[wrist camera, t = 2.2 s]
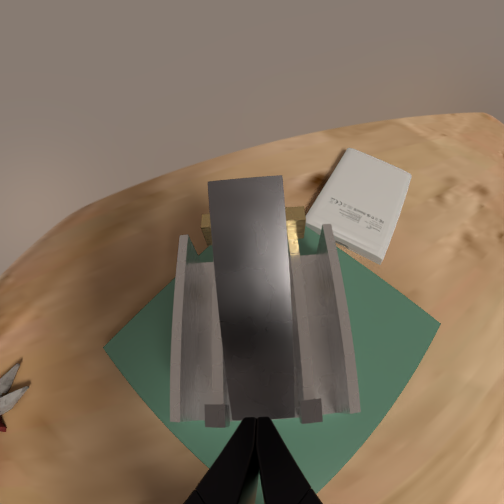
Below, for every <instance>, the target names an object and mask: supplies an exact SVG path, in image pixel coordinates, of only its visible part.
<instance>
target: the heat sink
mask: <svg viewBox="0 0 504 504" xmlns="http://www.w3.org/2000/svg"><path fill="white" fill-rule="evenodd" d="M285 214H286V227H287V241H288V256H289V271H290V289H291V308H292V330H293V357H294V396H295V417H294V418H299V421H300V423H301V424H308V423H317V422H323V416H322V415H325V414H332V413H343V414H353V413H358V412H361V409H360V398H359V388H358V378H357V369H356V361H355V353H354V346H353V338H352V332H351V325H350V319H349V312H348V306H347V300H346V295H345V289H344V284H343V278H342V273H341V268H340V263H339V258H338V253H337V248H336V244H335V239H334V235H333V230H332V226H331V224H322V229H321V234H320V238H319V243H318V248H317V252H316V254H315V255H302V256H300V252H299V245H298V239H301V238H304V233H305V225H306V216H305V211H304V206H302V207H286V208H285ZM201 229H202V232H203V235H204V237H205V240H206V242H207V245H212V236H211V223H210V214H202V219H201ZM281 419H288V418H281ZM197 420H205V427H212V428H226V427H229V426H230V422H233V421H242V420H232V415H231V408H230V401H229V393H228V386H227V379H226V371H225V363H224V355H223V347H222V338H221V329H220V320H219V311H218V301H217V292H216V281H215V271H214V260H213V262H205V263H201V261H200V259H199V257H198V255H197V252H196V250H195V248H194V246H193V244H192V242H191V239H190V237H189V235H180V238H179V247H178V257H177V267H176V278H175V290H174V304H173V319H172V337H171V363H170V422H189V421H197ZM271 420H274V419H271Z"/></svg>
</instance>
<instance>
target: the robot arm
mask: <svg viewBox="0 0 504 504" xmlns="http://www.w3.org/2000/svg"><path fill="white" fill-rule="evenodd" d="M259 474H260V481H261V487H262V493H263V498H264V504H323V503H322V502H321V501H320V499H319V498H318V496H317V495H316V493H315V492H314V490H313V489H311V486H310V484H309V482H308V481H307V479H306V478H305V476H304V474H303V473H302V471H301V469H300V468H299V466H298V464H297V463H296V461H295V460H294V458H293V456H292V454H291V453H290V451H289V449H288V448H287V446H286V444H285V443H284V441H283V439H282V437H281V436H280V434H279V432H278V430H277V429H276V427H275V425H274V423H273V422H272V420H271V418H270V417H268V416H266V417H258V418H256V417H245V418H243V419H242V421H241V423H240V424H239V426H238V427H237V429H236V430H235V432H234V433H233V435H232V436H231V438H230V439H229V441H228V442H227V444H226V445H225V447H224V448H223V450H222V451H221V453H220V454H219V456H218V457H217V459H216V460H215V462H214V463H213V464H212V466H211V467H210V469H209V470H208V471H207V473H206V474H205V476H204V477H203V478H202V480H201V481H200V483H199V484H198V485H197V487H196V488H195V489H196V490H194V491H193V492H192V493H191V495H190V496H189V497H188V498H187V500H186V501H185V502H184V503H183V504H255V500H256V494H257V487H258V479H259Z"/></svg>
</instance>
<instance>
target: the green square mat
mask: <svg viewBox="0 0 504 504" xmlns="http://www.w3.org/2000/svg"><path fill="white" fill-rule="evenodd" d="M319 238H320V235H319V234H317V233H316V232H314V231H313V230H311V229H310V228H308V227H307V226H305V233H304V238H301V239H298V245H299V252H300V256H302V255H315V254H316V252H317V248H318V243H319ZM336 248H337V253H338V258H339V263H340V268H341V273H342V278H343V284H344V289H345V295H346V300H347V306H348V312H349V319H350V325H351V332H352V338H353V346H354V353H355V361H356V369H357V378H358V388H359V398H360V409H361V412H358V413H353V414H343V413H332V414H325V415H322V416H323V422H317V423H308V424H301V423H300V421H299V418H288V419H274V420H272V422H273V423H274V425H275V427H276V429H277V430H278V432H279V434H280V436H281V437H282V439H283V441H284V443H285V444H286V446H287V448H288V449H289V451H290V453H291V454H292V456H293V458H294V460H295V461H296V463H297V464H298V466H299V468H300V469H301V471H302V473H303V474H304V476H305V478H306V479H307V481H308V482H309V484H310V486H311V489H313V490H314V492H315V493H316V494H317V493H318V492H319V491H320V490H321V489H322V488H323V487H324V486H325V485H326V484H327V483H328V482H329V481H330V480H331V479H332V478H333V477H334V476H335V475H336V474H337V473H338V472H339V471H340V470H341V468H342V467H343V466H344V465H345V464H346V463H347V462H348V461H349V460H350V459H351V457H352V456H353V455H354V454H355V453H356V452H357V450H358V449H359V448H360V447H361V446H362V445H363V443H364V442H365V441H366V440H367V438H368V437H369V436H370V435H371V433H372V432H373V431H374V430H375V428H376V427H377V426H378V424H379V423H380V422H381V421H382V419H383V418H384V416H385V415H386V414H387V412H388V411H389V410H390V408H391V407H392V405H393V404H394V402H395V401H396V400H397V398H398V397H399V395H400V394H401V392H402V391H403V389H404V388H405V386H406V385H407V383H408V381H409V380H410V378H411V377H412V375H413V373H414V372H415V370H416V368H417V367H418V365H419V363H420V362H421V360H422V358H423V356H424V355H425V353H426V351H427V349H428V347H429V346H430V344H431V342H432V340H433V338H434V336H435V334H436V332H437V330H438V328H439V326H440V323H439V322H438V321H437V320H435V319H434V318H433V317H432V316H430V315H429V314H428V313H426V312H425V311H424V310H423V309H421V308H420V307H419V306H417V305H416V304H415V303H413V302H412V301H411V300H410V299H408V298H407V297H406V296H404V295H403V294H402V293H400V292H399V291H398V290H396V289H395V288H393V287H392V286H391V285H389V284H388V283H387V282H385V281H384V280H383V279H381V278H380V277H379V276H377V275H376V274H374V273H373V272H372V271H370V270H369V269H367V268H366V267H365V266H363V265H362V264H360V263H359V262H358V261H356V260H355V259H353V258H352V257H351V256H349V255H348V254H346V253H345V252H343V251H342V250H341V249H339V248H338V247H336ZM198 257H199V259H200V261H201V263H205V262H213V248H212V245H210V246H209V247H208V248H206V249H205V250H204V251H203V252H202V253H201V254H200V255H199V256H198ZM175 278H176V277H175ZM175 278H174V279H173V280H172V281H171V282H170V283H169V284H168V285H167V286H166V287H165V288H164V289H162V290H161V291H160V292H159V293H158V294H157V295H156V296H155V297H154V298H153V299H152V300H151V301H150V302H149V303H148V304H147V305H146V306H145V307H144V308H143V309H142V310H141V311H140V312H138V313H137V314H136V315H135V316H134V317H133V318H132V319H131V320H130V321H129V322H128V323H127V324H126V325H125V326H124V327H123V328H122V329H121V330H120V331H119V332H118V333H117V334H116V335H115V336H114V337H113V338H112V339H111V340H110V341H109V342H108V343H107V344H106V345H105V346H104V347H103V348H104V350H105V351H106V353H107V354H108V355H109V357H110V358H111V360H112V361H113V362H114V364H115V365H116V367H117V368H118V369H119V371H120V372H121V373H122V375H123V376H124V377H125V378H126V380H127V381H128V382H129V384H130V385H131V386H132V387H133V389H134V390H135V391H136V392H137V394H138V395H139V396H140V397H141V398H142V400H143V401H144V402H145V403H146V404H147V405H148V407H149V408H150V409H151V410H152V411H153V412H154V413H155V415H156V416H157V417H158V418H159V419H160V420H161V421H162V422H163V423H164V424H165V426H166V427H167V428H168V429H169V430H170V431H171V432H172V433H173V434H174V435H175V436H176V437H177V438H178V439H179V440H180V441H181V442H182V443H183V444H184V445H185V446H186V447H187V448H188V449H189V450H190V451H191V452H192V453H193V454H194V455H195V456H196V457H197V458H198V459H200V460H201V461H202V462H203V463H204V464H205V465H206V466H207V467H208V468H209V469H210V467H211V466H212V464H213V463H214V462H215V460H216V459H217V457H218V456H219V454H220V453H221V451H222V450H223V448H224V447H225V445H226V444H227V442H228V441H229V439H230V438H231V436H232V435H233V433H234V432H235V430H236V429H237V427H238V426H239V424H240V423H241V421H233V422H230V426H229V427H226V428H212V427H205V420H197V421H189V422H170V363H171V337H172V319H173V304H174V290H175ZM255 504H264V498H263V493H262V487H261V481H260V474H259V479H258V487H257V494H256V500H255Z"/></svg>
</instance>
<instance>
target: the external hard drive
mask: <svg viewBox="0 0 504 504" xmlns="http://www.w3.org/2000/svg"><path fill="white" fill-rule="evenodd" d="M410 180H411V174H410V173H408V172H406V171H404V170H402V169H400V168H398V167H395V166H393V165H391V164H389V163H386V162H384V161H382V160H380V159H377V158H375V157H373V156H370V155H368V154H365V153H363V152H360V151H358V150H355V149H352V148H347V150H346V152H345V153H344V155H343V157H342V158H341V160H340V162H339V163H338V165H337V166H336V168H335V170H334V171H333V173H332V175H331V176H330V178H329V179H328V181H327V183H326V184H325V186H324V187H323V189H322V191H321V192H320V194H319V195H318V197H317V199H316V200H315V202H314V203H313V205H312V207H311V208H310V210H309V211H308V213H307V214H306V225H305V226H307V227H308V228H310V229H311V230H313V231H314V232H316V233H317V234H319V235H320V234H321V229H322V224H331V226H332V230H333V235H334V239H335V242H336V243H338V244H340V245H342V246H345V247H346V248H347V249H349V250H351V251H353V252H355V253H357V254H359V255H361V256H363V257H365V258H367V259H369V260H371V261H373V262H375V263H377V264H379V265H380V264H381V263H382V261H383V259H384V256H385V254H386V251H387V248H388V246H389V243H390V240H391V238H392V235H393V232H394V230H395V227H396V224H397V221H398V218H399V215H400V212H401V209H402V206H403V203H404V200H405V197H406V194H407V190H408V187H409V183H410Z"/></svg>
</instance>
